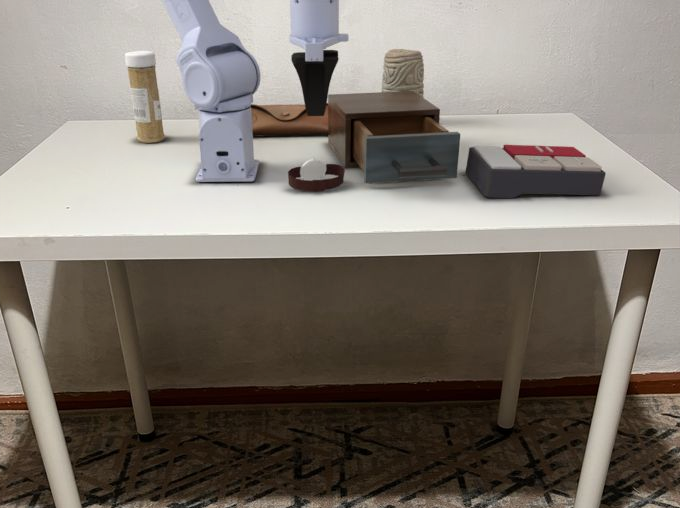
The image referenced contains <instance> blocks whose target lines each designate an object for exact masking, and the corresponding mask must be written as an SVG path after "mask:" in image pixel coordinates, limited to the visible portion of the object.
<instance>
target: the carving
mask: <svg viewBox="0 0 680 508" xmlns="http://www.w3.org/2000/svg"><path fill="white" fill-rule="evenodd" d="M423 58H424V57H423V54H422V52H421V51H420V50H415V49H413V50H411V49H405V48H392V49H389V50H388V51H387V52H386V53H385V54H384V57H383V66H382V68H383V72H382V79H381V92H400V91H414V92H415V93H417V94H418V95H420V96H421V97H423V98H424V97H425V96H424V94H425V92H424V91H425V90H424V88H425V84H424V79H425V78H424V77H425V64H424V59H423ZM424 99H425V98H424Z"/></svg>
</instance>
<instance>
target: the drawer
mask: <svg viewBox="0 0 680 508" xmlns="http://www.w3.org/2000/svg"><path fill="white" fill-rule="evenodd" d="M460 143H461V133H460V132H459V131H449V130H448V129H447V128H446V127H444V126H443V125H441V124H440V122H439V123H437V122H436V121H435V120H433V119H432V118H430V117H429V116H428V115H425V116H404V117H384V118H363V119H352V137H351V156H352V157H353V158H354V160H355V161H356V162H357V163H358V165H359V166H360V167H359V168H360V169H361V170H362V171H363V182H364V184H367V185H368V184H382V183H398V182H413V181H428V180H429V181H430V180H431V181H432V180H446V179H458V178H457V177H458V168H459V167H458V166H459V154H460Z"/></svg>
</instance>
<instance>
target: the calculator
mask: <svg viewBox="0 0 680 508" xmlns="http://www.w3.org/2000/svg"><path fill="white" fill-rule="evenodd" d="M502 146H503V147H501V146H499V145H476V144H475V145H473V146H470V147H469V148H468V153H467V161H466V166H465V167H466V168H465V174H466V175H467V176H468V178H470V180H471V181H472V183H473V184H474V185H475V186H476V187H477V188H478V190H479V191H480V192H481V193H482V194H483V196H484V197H486V198H493V199H494V198H499V199H501V198H502V199H515V198H517V197H519V196H520V195H523V194H524V195H527V194H528V195H562V196H563V195H564V196H565V195H568V196H600V195H601V194H602V191H603V190H602V189H603V186H604V183H605V178H606V174H607V173H606V171H604V169H602V168H603V167H602V165H600V164H599V163H597V162H596V161H594V160H593V159H591V158H590V157H587V155H586V154H584V153H583V152H581V151H580V150H579V149H577V147H574V146H559V145H558V146H557V145H526V144H525V145H523V144H503V145H502Z"/></svg>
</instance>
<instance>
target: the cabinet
mask: <svg viewBox="0 0 680 508" xmlns="http://www.w3.org/2000/svg"><path fill="white" fill-rule="evenodd" d="M423 97H424V96H423ZM423 97H421V96H420V95H418V94H417V93H415V92H414V91H400V92H382V91H379V92H378V91H377V92H357V93H335V94H333V93H331V94H328V98H327V103H328V134H327V137H328V138H327V143H328V145H329V147H330V149H331V150H332V151H333V153H334V154H335V155H336V158H337V159H338V160H339V161H340V163H341V164H342V166H343V167H344V169H350V168H351V169H353V168H361V167H360V166H359V165H358V163H357V162H356V161H355V160H354V158H353V157H352V156H351V137H352V119H363V118H384V117H404V116H425V115H428V116H429V117H430V118H432V119H433V120H435V121H436V122H437V123H439V124H440V117H441V115H440V114H441V109H440V108H439V107H437V105H435V104H433V103H432V102H430V100H429V101H428V100H427V99H426V98H423Z"/></svg>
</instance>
